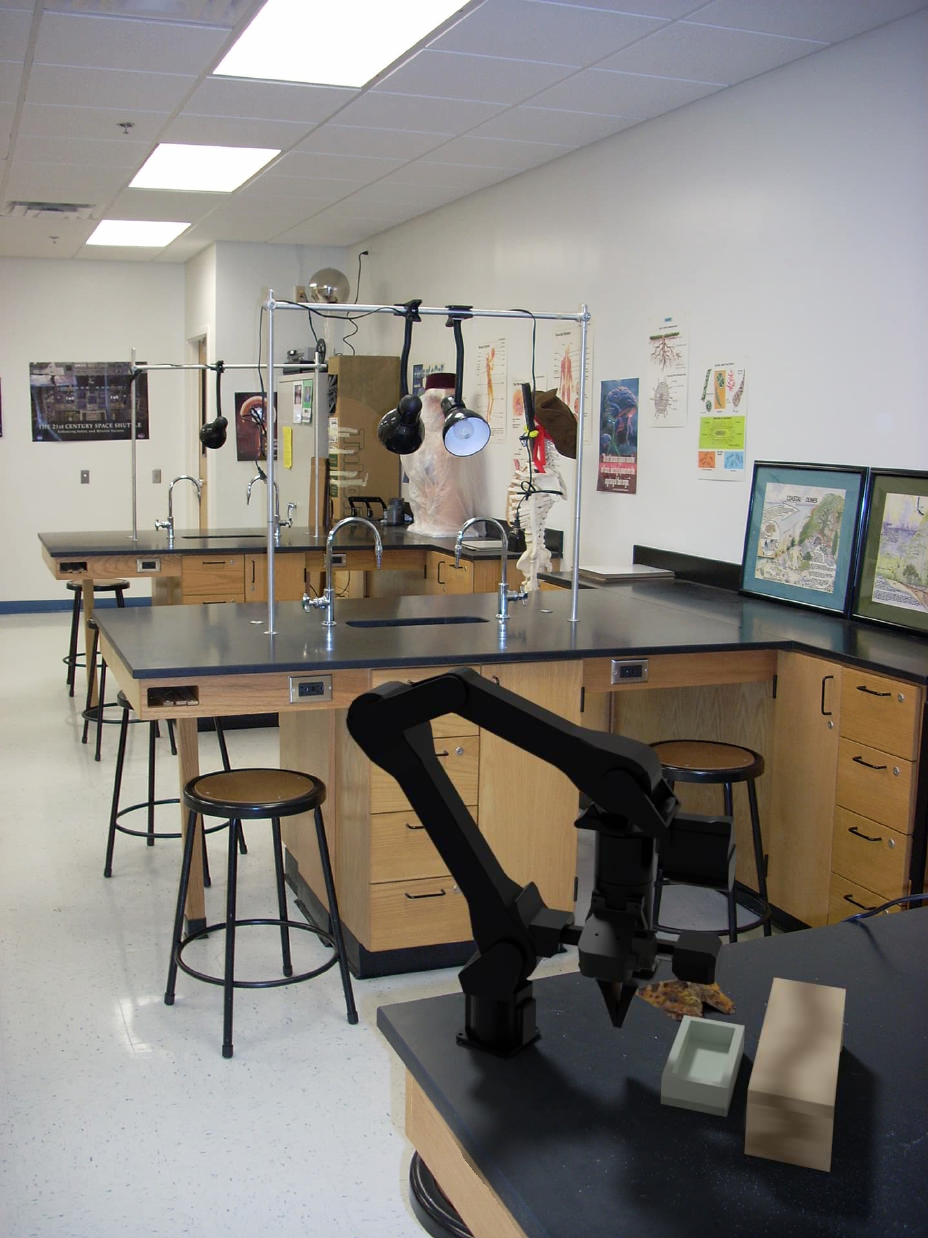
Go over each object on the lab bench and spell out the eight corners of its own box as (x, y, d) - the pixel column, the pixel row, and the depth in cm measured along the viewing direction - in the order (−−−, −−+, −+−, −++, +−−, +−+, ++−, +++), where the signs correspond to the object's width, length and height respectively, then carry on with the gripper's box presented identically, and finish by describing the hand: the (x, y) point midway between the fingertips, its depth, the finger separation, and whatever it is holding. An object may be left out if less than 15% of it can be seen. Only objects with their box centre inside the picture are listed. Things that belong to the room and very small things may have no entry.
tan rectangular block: (744, 1154, 101) (747, 1089, 100) (771, 1032, 122) (774, 977, 121) (829, 1172, 99) (833, 1106, 98) (842, 1044, 119) (845, 989, 118)
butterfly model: (622, 998, 130) (623, 972, 129) (713, 977, 135) (715, 952, 134) (668, 1035, 122) (669, 1007, 122) (763, 1011, 127) (765, 984, 127)
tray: (660, 1103, 109) (661, 1075, 108) (683, 1041, 120) (684, 1015, 119) (726, 1117, 107) (728, 1088, 106) (743, 1052, 118) (744, 1026, 117)
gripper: (504, 891, 109) (502, 1048, 111) (709, 922, 102) (701, 1088, 105) (539, 851, 119) (536, 995, 121) (727, 877, 113) (719, 1029, 115)
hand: (618, 1026), depth 115 cm, fingers closed
